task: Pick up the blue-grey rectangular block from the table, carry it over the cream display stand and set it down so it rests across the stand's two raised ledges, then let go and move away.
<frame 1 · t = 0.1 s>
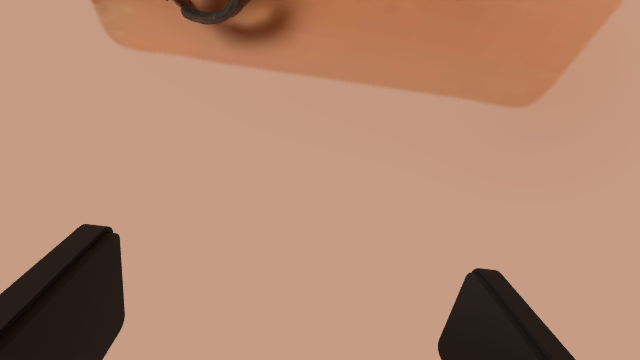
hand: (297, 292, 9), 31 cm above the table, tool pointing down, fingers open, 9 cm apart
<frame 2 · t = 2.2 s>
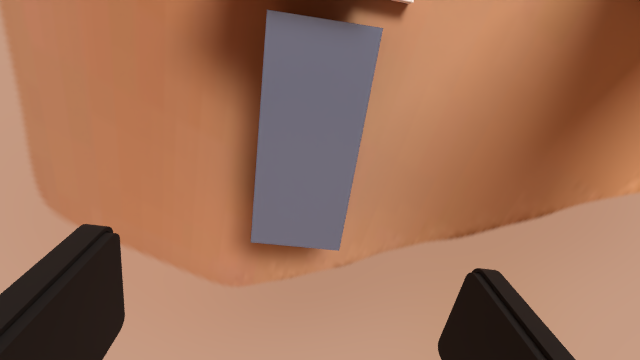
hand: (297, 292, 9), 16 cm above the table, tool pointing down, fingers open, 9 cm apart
blue-grey rectangular block: (307, 127, 24), on the table
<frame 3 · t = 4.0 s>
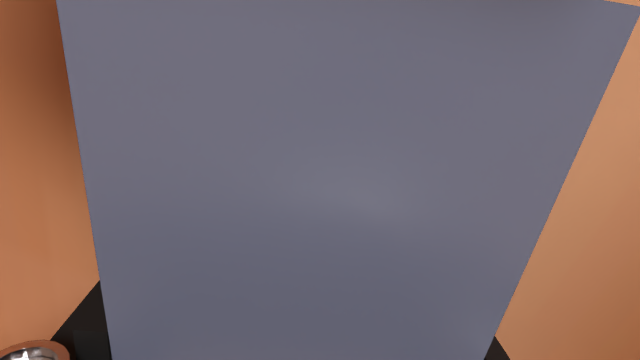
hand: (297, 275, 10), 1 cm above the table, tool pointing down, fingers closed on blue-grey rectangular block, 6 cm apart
blue-grey rectangular block: (297, 251, 11), on the table, touching gripper
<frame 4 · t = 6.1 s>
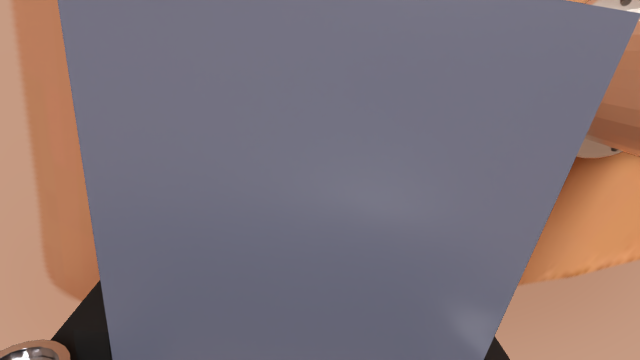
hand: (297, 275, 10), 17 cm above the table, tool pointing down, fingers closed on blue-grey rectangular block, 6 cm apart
blue-grey rectangular block: (297, 253, 11), point 16 cm above the table, touching gripper
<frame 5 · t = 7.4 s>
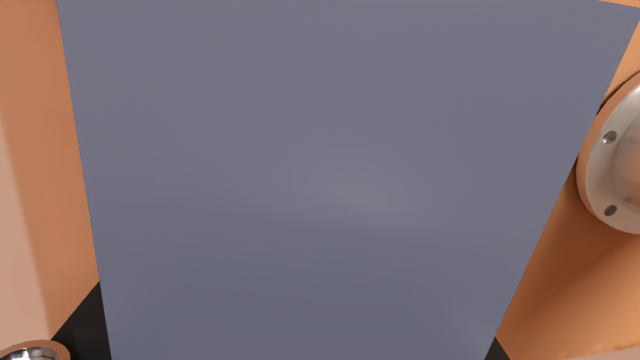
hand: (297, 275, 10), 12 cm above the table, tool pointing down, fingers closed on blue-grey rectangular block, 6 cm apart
blue-grey rectangular block: (297, 252, 10), point 11 cm above the table, touching gripper
when the fingers open (9 cm above the table, at t = 8.5 s): blue-grey rectangular block drops 1 cm, resting on display stand.
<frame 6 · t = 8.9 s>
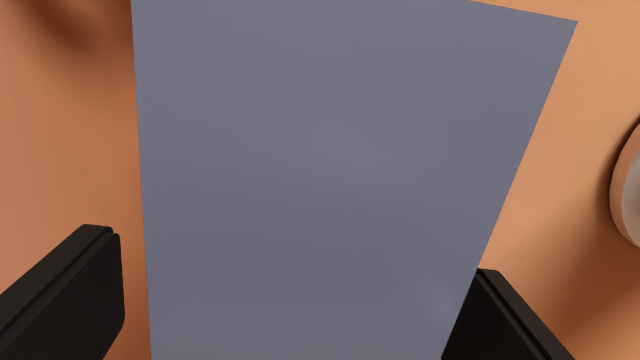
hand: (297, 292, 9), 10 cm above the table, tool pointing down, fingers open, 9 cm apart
blue-grey rectangular block: (299, 233, 12), point 7 cm above the table, touching display stand
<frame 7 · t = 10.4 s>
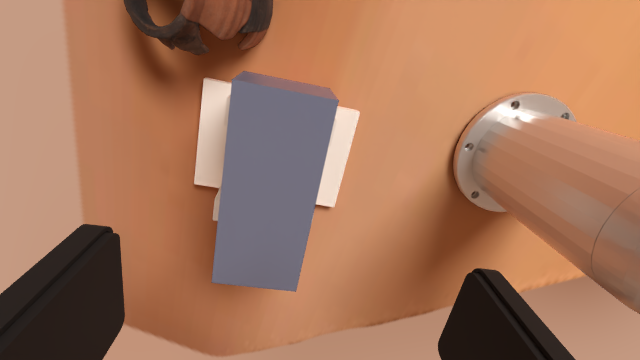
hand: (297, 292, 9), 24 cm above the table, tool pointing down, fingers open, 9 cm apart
display stand: (275, 145, 32), on the table
blue-grey rectangular block: (272, 171, 26), point 7 cm above the table, touching display stand
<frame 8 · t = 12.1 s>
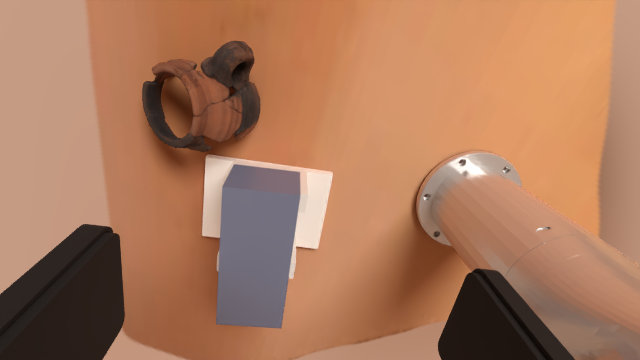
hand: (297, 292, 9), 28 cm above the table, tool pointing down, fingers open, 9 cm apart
display stand: (266, 202, 39), on the table
blue-grey rectangular block: (260, 233, 33), point 7 cm above the table, touching display stand
pottery mug: (218, 91, 34), on the table
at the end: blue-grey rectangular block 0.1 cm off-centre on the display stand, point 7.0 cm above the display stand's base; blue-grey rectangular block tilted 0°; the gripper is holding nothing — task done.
